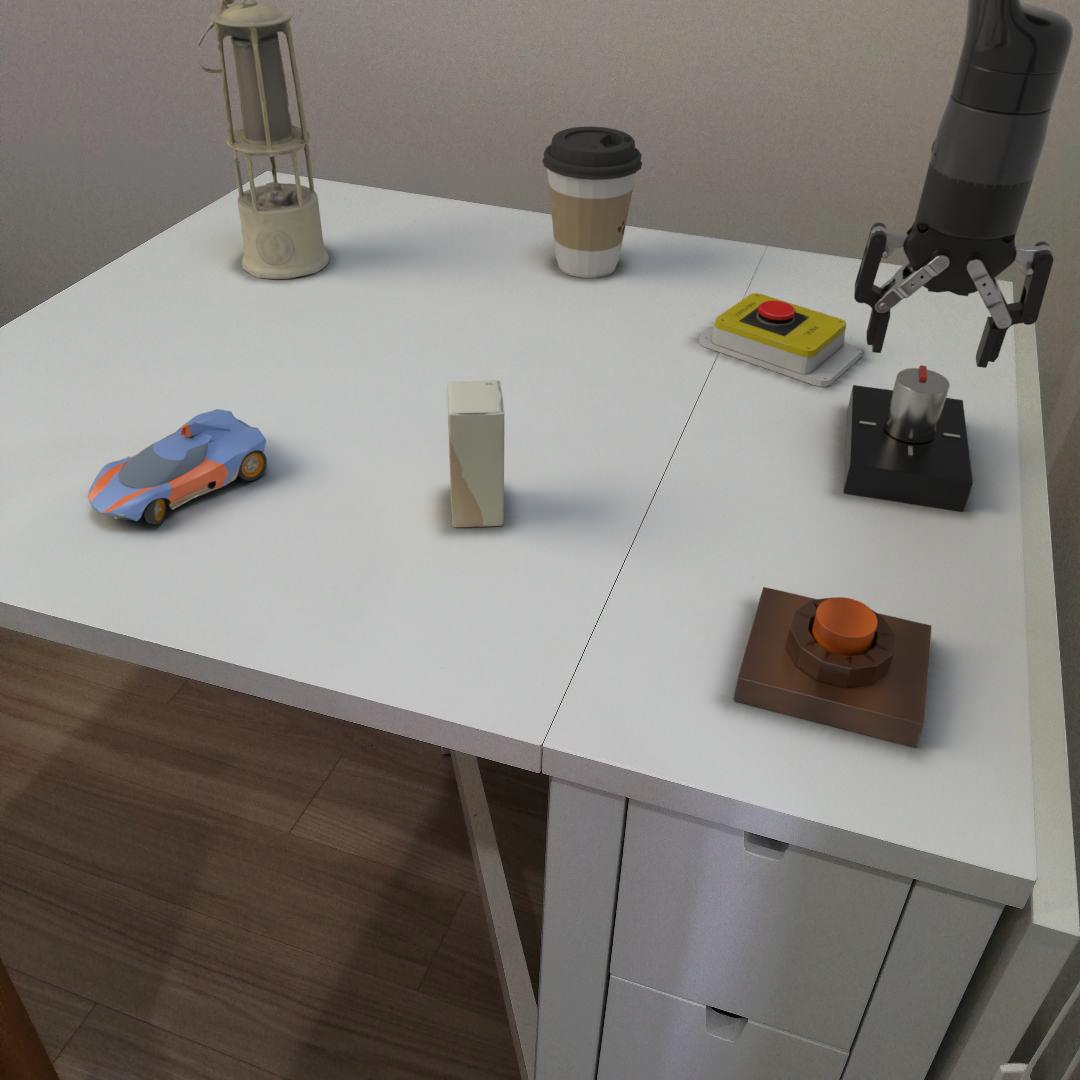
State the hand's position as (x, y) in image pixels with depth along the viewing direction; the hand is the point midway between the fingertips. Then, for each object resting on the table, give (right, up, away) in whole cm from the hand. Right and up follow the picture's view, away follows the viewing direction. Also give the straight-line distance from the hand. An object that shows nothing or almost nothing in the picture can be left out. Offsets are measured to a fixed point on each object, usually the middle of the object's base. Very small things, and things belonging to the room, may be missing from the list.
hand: (928, 355), depth 89 cm
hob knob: (0, -6, +5) cm, 7 cm away
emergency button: (-8, +4, +23) cm, 24 cm away
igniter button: (-12, -22, -18) cm, 31 cm away
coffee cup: (-27, +17, +38) cm, 50 cm away
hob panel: (0, -8, +6) cm, 10 cm away
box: (-38, -13, -1) cm, 40 cm away
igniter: (-12, -25, -15) cm, 32 cm away
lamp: (-64, +18, +38) cm, 77 cm away
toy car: (-63, -11, +1) cm, 64 cm away
